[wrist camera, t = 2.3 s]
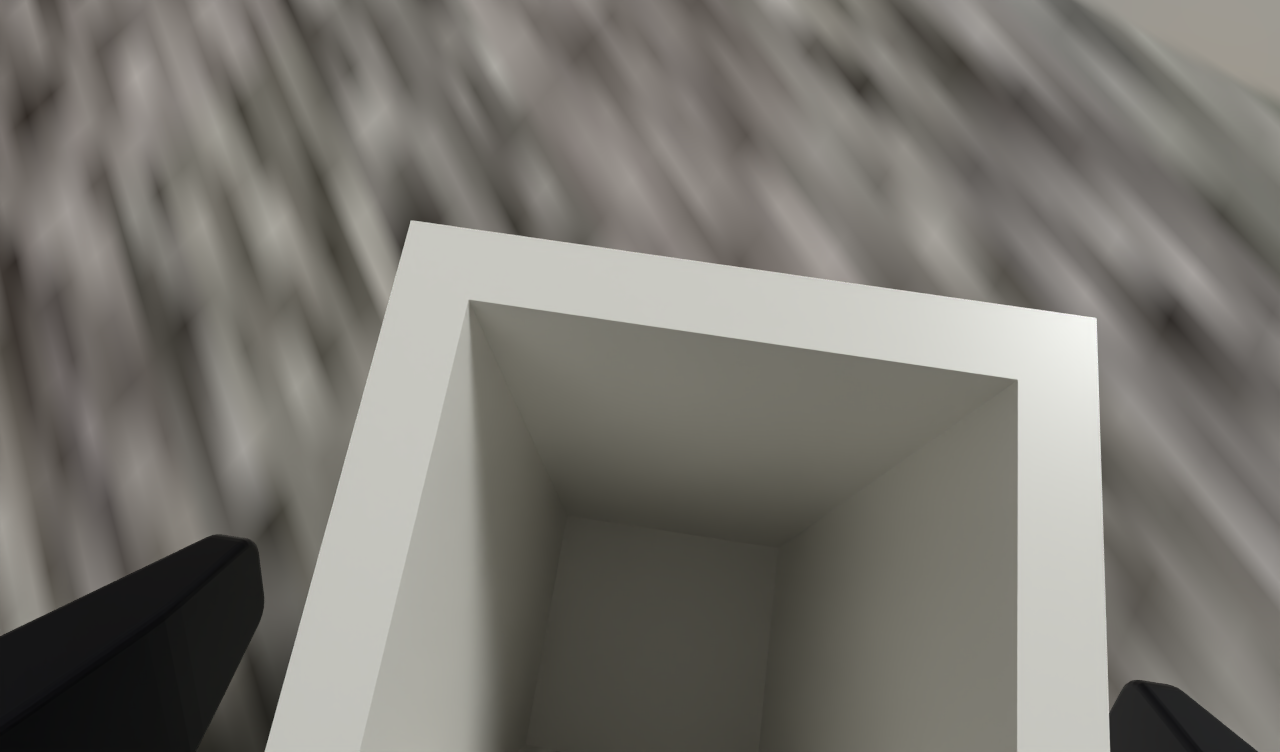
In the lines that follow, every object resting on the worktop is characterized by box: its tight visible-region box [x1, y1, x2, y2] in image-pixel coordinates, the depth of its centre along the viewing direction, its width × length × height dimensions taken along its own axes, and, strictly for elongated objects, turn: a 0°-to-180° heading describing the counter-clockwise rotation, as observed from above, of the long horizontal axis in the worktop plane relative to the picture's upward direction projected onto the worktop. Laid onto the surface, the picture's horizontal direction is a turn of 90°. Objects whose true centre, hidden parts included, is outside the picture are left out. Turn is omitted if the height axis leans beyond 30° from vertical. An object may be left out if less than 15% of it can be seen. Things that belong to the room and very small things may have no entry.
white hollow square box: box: [265, 220, 1110, 752], centre depth 11 cm, size 5×5×11 cm
